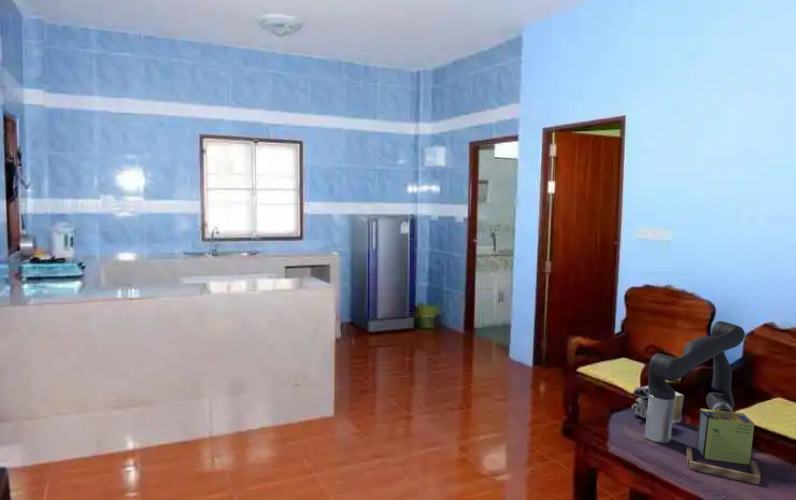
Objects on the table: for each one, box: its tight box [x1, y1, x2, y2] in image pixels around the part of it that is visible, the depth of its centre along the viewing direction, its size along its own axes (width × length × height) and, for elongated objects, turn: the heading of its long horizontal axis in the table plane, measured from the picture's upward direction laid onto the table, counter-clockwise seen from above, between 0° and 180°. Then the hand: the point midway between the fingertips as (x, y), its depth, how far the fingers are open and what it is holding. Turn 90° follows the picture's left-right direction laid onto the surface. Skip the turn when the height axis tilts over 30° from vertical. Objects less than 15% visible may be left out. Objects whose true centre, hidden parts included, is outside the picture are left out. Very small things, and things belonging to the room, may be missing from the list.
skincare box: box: [672, 391, 685, 424], centre depth 246 cm, size 6×4×12 cm
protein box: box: [695, 408, 755, 465], centre depth 213 cm, size 10×15×16 cm
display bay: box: [686, 446, 762, 485], centre depth 203 cm, size 22×14×2 cm, turn 65°
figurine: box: [631, 384, 649, 419], centre depth 243 cm, size 9×12×15 cm
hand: (726, 429), depth 221 cm, fingers closed
